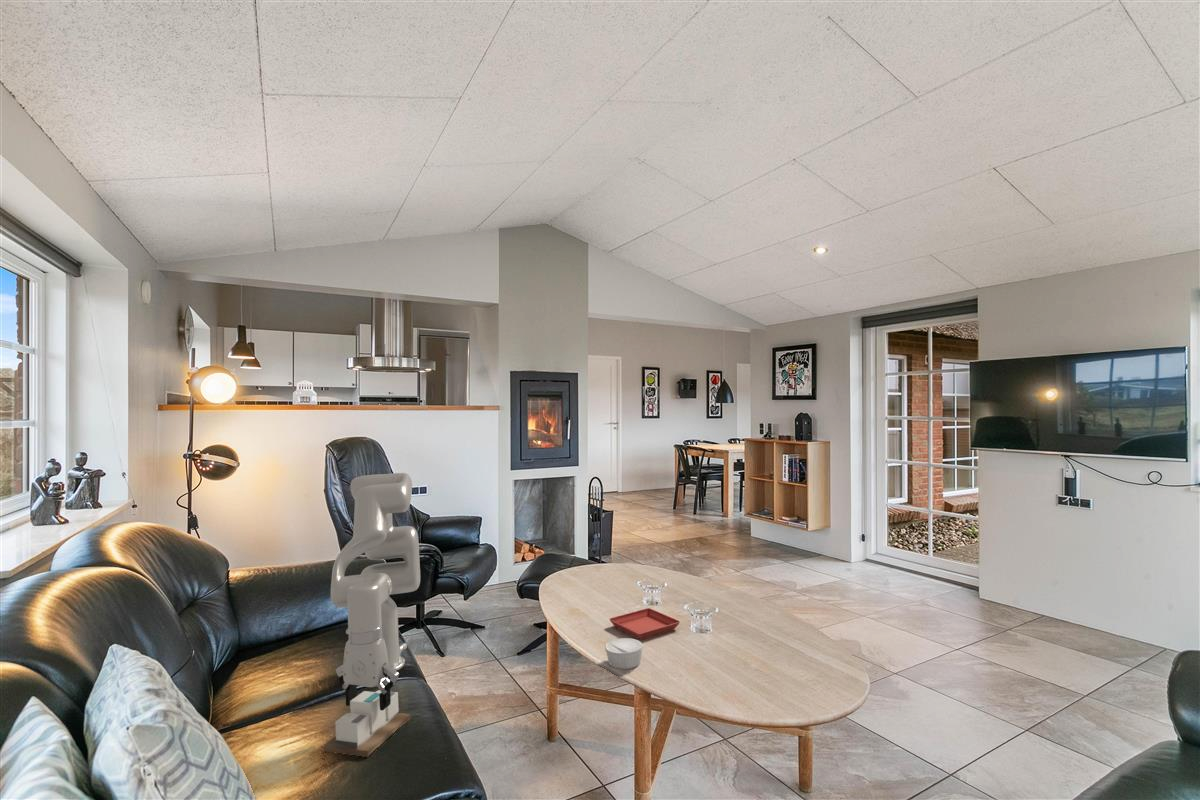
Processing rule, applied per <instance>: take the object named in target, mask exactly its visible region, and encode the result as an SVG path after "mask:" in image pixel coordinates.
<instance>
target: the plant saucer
mask: <svg viewBox="0 0 1200 800" xmlns="http://www.w3.org/2000/svg"><path fill="white" fill-rule="evenodd" d="M609 621H610V623H611V624H612V625H613V626H614V627H615V628H616V627H617V628H616V629H618V628H619V629H618V630H620V631H622V632H624V633H626V634H628V635H629V636H632V637H634V639H636V640H638V641H640V640H645V639H648V638H652V637H654V636H658V635H661V634H664V633H668V632H671V631H674V630H675V629H676V628H677V627H678V625H679V624H680V623H681V621H680V620H678V619H676V618H673V617H671V616H669V615H666V614H664V613H661V612H659V611H657V610H655V609H653V608H650V607H649V608H643V609H640V610H636V611H632V612H629V613H625V614H621V615H618V616H614V617H611V618H609Z"/></svg>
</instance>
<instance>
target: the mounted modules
mask: <svg viewBox="0 0 1200 800" xmlns="http://www.w3.org/2000/svg"><path fill="white" fill-rule="evenodd" d="M375 692H378V693H382V692H381V691H380V690H379V689H378V690H376V691H375ZM390 694H391V703H390V705H389V706H388V707H387V708H385V711H386V720H389V719H390V718H392V717H393V716H394V715H395V714H396V713H398V712H399V713H400V707H399V693H398V691H397V692H396V691H395V692H394V691H390ZM334 724H335V736H336V740H339V741H347V742H354V743H357V746H358V745H359V744H361V743H362V742H363V741H364V740H365V739H367V738H368V737H369V736H370V732H369V715H363V714H355V713H350V712H347V713H345V714H344V715H342V716H341V717H340V718H338V719H337V720H336V721H335V723H334Z"/></svg>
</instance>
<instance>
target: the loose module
mask: <svg viewBox="0 0 1200 800" xmlns="http://www.w3.org/2000/svg"><path fill="white" fill-rule="evenodd" d="M379 695H380V693H378V692H376V691H368V690H364V691H362V692H361V693H359V694H357V696H356V697H355V698H354V699H352V700H351V701H350V705H349V706H350V707H349V708H350V709H349V710H350V711H349V713H355V714H363V715H369V732H370V733H373V732H375V731H376V730H377V729H378V728H379V727H381V726H382V725H383V724H384V723H385V722H386V711H385V709H384V710H380V700H379Z"/></svg>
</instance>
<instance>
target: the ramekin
mask: <svg viewBox="0 0 1200 800" xmlns="http://www.w3.org/2000/svg"><path fill="white" fill-rule="evenodd" d="M643 646H644V645H643V643H642V642H641V641H640V640H639V639H636V638H630V637H628V638H627V637H623V638H622V637H620V638H615V639H612V640H610V641H608V642H607V643H606V644H605V646H604V650H605V652H606V656H607V661H608V663H609V665H610V666H611V667H613V668H615V669H618V670H629V669H633V668H636V667H637V666H639V664H640V663H641V661H642V653H643V652H642V651H643V649H644V648H643Z"/></svg>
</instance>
